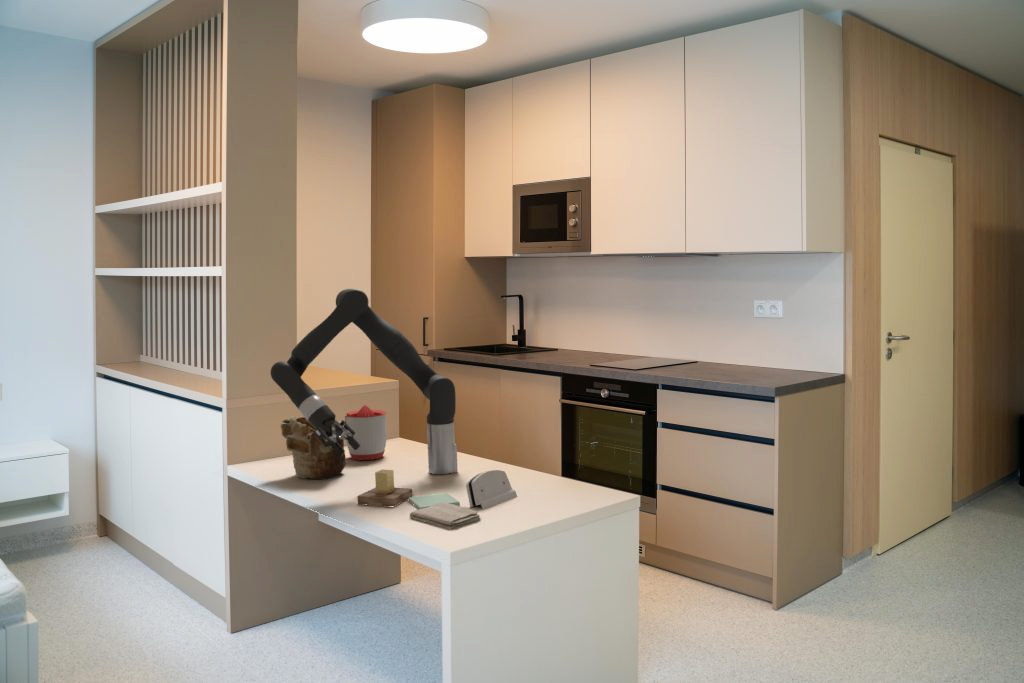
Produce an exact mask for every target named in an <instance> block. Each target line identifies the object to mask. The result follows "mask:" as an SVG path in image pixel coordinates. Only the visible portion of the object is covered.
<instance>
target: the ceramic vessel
mask: <svg viewBox="0 0 1024 683" xmlns="http://www.w3.org/2000/svg"><path fill="white" fill-rule="evenodd" d="M335 421H337V422H338V423H340V422H341V421H339V420H338V419H336V418H335ZM280 430H281V436H282V437H283V438H284V439H286V440H285V441H286V442H285V445H286V450H287V451H289V452H292V462H293V468H294V470H295V471H294V472H295V474H296V475H297V477H298V478H300V479H307V478H310V479H309V480H312V479H313V480H314V479H316V480H321V479H322V478H326V479H329V478H333V477H335V476H337V475H340V474H341V473H342V472H343V471H344V469H345V467H346V464H347V460H346V453H345V452H346V451H345V452H344V453H343V455H341V456H339V455H338V454H337V453H336V452H335V450H334V449H333V448H331V447H329V446H328V447H325V446H324V445H323V444H322V443H321V441H320V440H319V439H318V438H317V436H316V435H315V432H316V430H315V429H314V428H313V426H312V425H311V424H310V423H309V422H308V421H307V420H306V418H305V417H304V416H302V417H295V415H294V416H293V415H292V416H291V417H290V418H288V419H283V420H282V421H281V423H280ZM342 433H343V432H342ZM324 441H325V442H327V441H326V439H324ZM336 441H337V442H338V443H339V444H340V446H341V447H342V448H343V449H344V450H345V448H344V447H345V446H344V445H345V443H344V439H340V438H336ZM337 442H336V443H337ZM322 480H323V479H322Z"/></svg>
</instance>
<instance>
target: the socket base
mask: <svg viewBox="0 0 1024 683" xmlns="http://www.w3.org/2000/svg"><path fill="white" fill-rule="evenodd" d="M413 495H414V494H413V488H406V487H395V486H394V492H393V493H391V494H389V495H382V494H376V486H375V487H373V488H371V489H370V490H367V491H365V492H363V493H361V494H359V495H357V505H359V504H367V505H366V506H371V505H378V506H377V507H383V506H395V505H397V504H398V505H400V504H402V503H404V502H406V501H408V500H407V499H408V498H410V497H412V496H413ZM413 497H414V496H413ZM405 500H406V501H405ZM403 501H404V502H403ZM401 502H402V503H401ZM399 503H400V504H399ZM398 505H397V506H398ZM395 507H396V506H395Z"/></svg>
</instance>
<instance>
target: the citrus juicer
mask: <svg viewBox="0 0 1024 683" xmlns="http://www.w3.org/2000/svg"><path fill="white" fill-rule="evenodd" d="M386 415H387V412H386V410H380V409H379V410H378V409H371V408H370V407H369V406H368V405H366V404H365V405H362V407H361V408H360V409H359V410H355V411H354V410H353V411H350V412H347V413H346V415H345V416H344V421H345V422H346V423H347V424H348V425H349V426H350V428H351V429H352V430H353V431H354V432H355V434H354V436H353V437H354V439H355V440H356V441H357V442H358V443H359V444H360V447H359V448H358V449H357V450H354V449H353V448H352V446H351V445H350V444H349V443H348V441H346V440H345V441H346V442H345V443H346V446H347V449H348V453H349V456H350V457H351V459H352V460H355V461H369V460H370V461H371V460H373V459H376V460H378V459H380V458H382V457H383V456H384V454H385V449H386V445H387V434H388V433H387V416H386ZM348 432H350V431H349V430H348ZM350 433H351V432H350ZM345 436H346V435H345ZM346 437H347V436H346Z"/></svg>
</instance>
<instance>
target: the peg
mask: <svg viewBox="0 0 1024 683" xmlns="http://www.w3.org/2000/svg"><path fill="white" fill-rule="evenodd" d="M394 471H395V470H393V469H379V470H378V471H375V473H374V476H375V487H376V494H382V495H389V494H391V493H393V492H394V487H395V477H394V474H395V473H394Z"/></svg>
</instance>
